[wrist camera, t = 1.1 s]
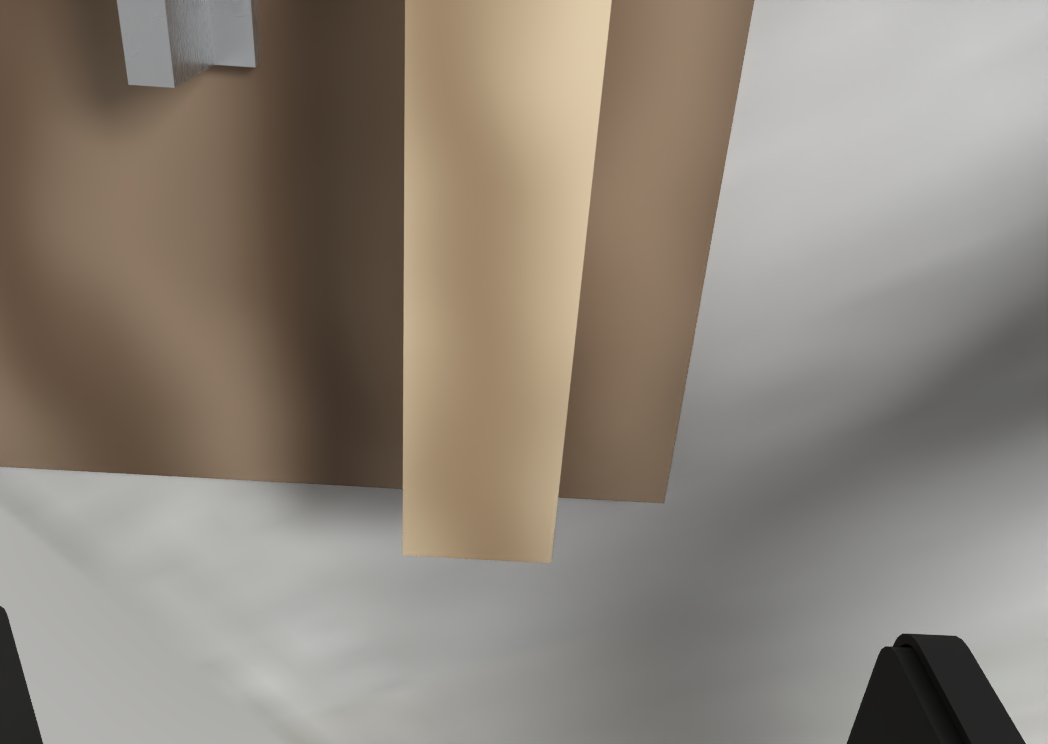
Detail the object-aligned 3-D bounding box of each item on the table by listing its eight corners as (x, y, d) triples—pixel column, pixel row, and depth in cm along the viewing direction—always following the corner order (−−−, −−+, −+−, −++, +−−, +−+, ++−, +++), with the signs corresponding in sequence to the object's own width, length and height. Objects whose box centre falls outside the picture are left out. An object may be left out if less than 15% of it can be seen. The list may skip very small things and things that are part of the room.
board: (805, -380, 20) (825, -400, 18) (657, 476, 31) (664, 503, 29) (-221, -472, 19) (-277, -499, 18) (6, 440, 30) (-18, 465, 28)
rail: (612, -213, 20) (637, -241, 15) (546, 458, 28) (551, 563, 24) (432, -228, 20) (406, -260, 15) (421, 451, 28) (402, 555, 24)
